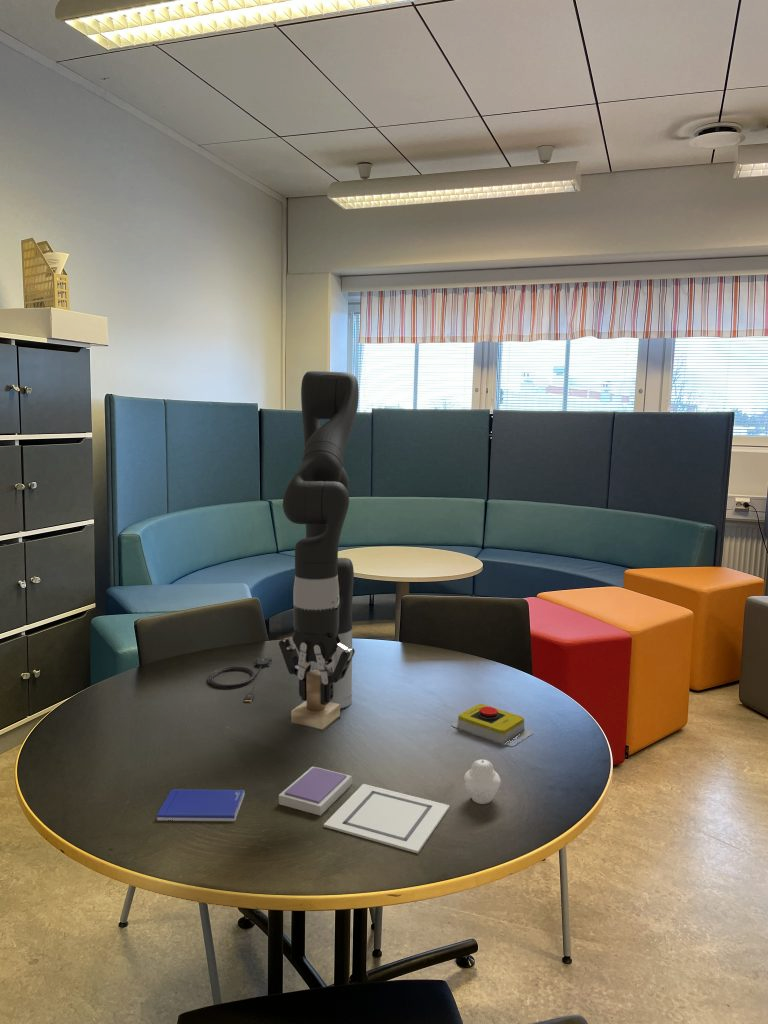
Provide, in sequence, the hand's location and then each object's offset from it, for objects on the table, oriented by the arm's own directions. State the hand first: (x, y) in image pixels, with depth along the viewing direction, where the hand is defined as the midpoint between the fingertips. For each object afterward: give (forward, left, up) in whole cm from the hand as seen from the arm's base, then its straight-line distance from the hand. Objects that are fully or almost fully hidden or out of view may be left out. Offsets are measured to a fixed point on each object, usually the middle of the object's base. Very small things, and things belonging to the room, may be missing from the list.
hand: (316, 700), depth 119 cm
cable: (-45, +38, -17) cm, 61 cm away
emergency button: (+20, +39, -17) cm, 47 cm away
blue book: (-15, -12, -17) cm, 26 cm away
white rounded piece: (+26, +11, -17) cm, 33 cm away
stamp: (0, 0, -4) cm, 4 cm away
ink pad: (0, 0, -17) cm, 17 cm away
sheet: (+14, -1, -17) cm, 22 cm away
